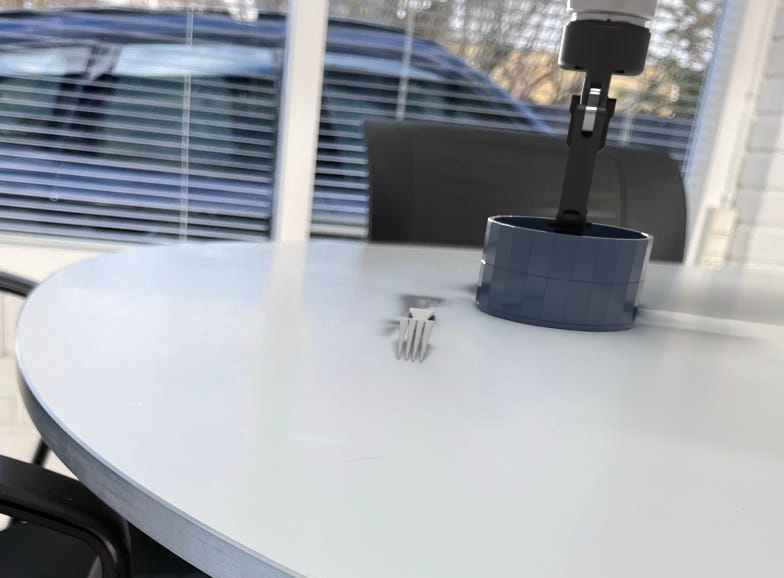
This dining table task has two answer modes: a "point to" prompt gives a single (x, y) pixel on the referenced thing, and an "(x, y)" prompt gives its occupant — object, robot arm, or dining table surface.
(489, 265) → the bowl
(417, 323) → the fork
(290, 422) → the dining table surface
